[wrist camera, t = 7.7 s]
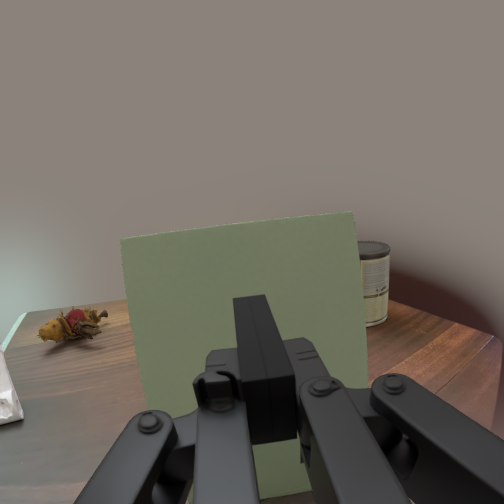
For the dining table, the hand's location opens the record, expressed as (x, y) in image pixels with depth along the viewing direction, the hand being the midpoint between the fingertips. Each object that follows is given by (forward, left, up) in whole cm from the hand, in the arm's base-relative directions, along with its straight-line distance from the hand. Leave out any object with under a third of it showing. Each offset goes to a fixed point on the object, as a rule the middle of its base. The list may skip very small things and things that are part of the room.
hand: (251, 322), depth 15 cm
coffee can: (+29, -36, -21) cm, 50 cm away
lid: (+5, -2, -4) cm, 7 cm away
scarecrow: (+54, +20, -21) cm, 61 cm away
